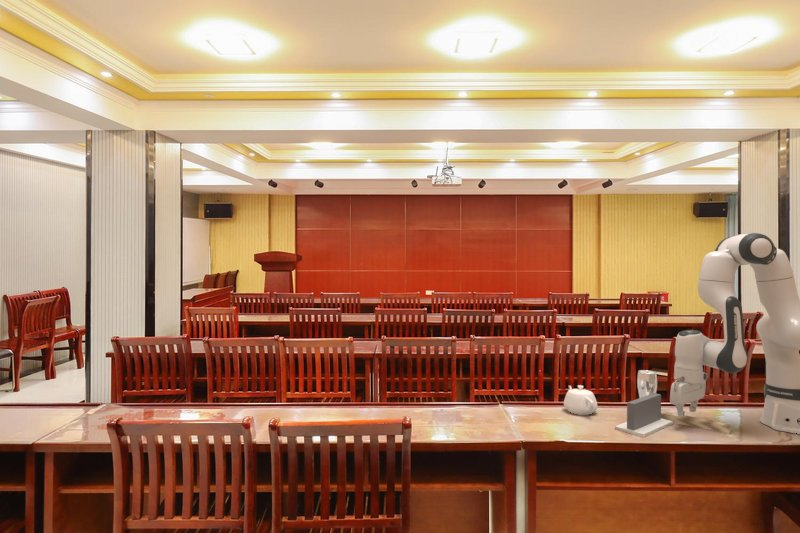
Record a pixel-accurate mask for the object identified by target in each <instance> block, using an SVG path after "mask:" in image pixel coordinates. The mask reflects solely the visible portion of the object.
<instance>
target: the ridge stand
mask: <svg viewBox="0 0 800 533" xmlns="http://www.w3.org/2000/svg"><path fill="white" fill-rule="evenodd" d="M626 403H627V404H626V421H625V422H622V423H619V424H617V425H614V430H616V431H620V432H624V433H627V434H631V435H634V436H638V437H641V438H645V437H648V436H649V435H652V434H654V433H657V432H658V431H661V430H663V429H665V428H668V427H670V426H672V425H674V423H673V421H670V420H666V419H662V418H661V411H662V394H660V393H657V392H656V393H653V394H650V395H647V396H645V397H642V398H636V399H634V400H630V401H628V402H626Z"/></svg>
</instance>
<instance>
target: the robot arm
mask: <svg viewBox="0 0 800 533" xmlns="http://www.w3.org/2000/svg"><path fill="white" fill-rule="evenodd" d="M746 265H749V266H750V267H751V268H752V269H753V272H754V277H755V283H756V288H757V293H758V297H759V301H760V303H761V305H762V306H763V307H764V308H765V311H766V312H767V314H768V315H766V316H763V317H761V318H760V319H758V321H757V323H756V327H755V330H756V332H757V334H758V336H759V338H760V340H761V344H762V349H763V353H764V358H765V377H766V378H765V383H764V386H763V395H764V404H763V405H764V406H763V410H762V414H761V417H760V419H759V421H760V423H762V424H763V425H766V426H768V427H770V428H771V429H773V430H775V431H780V432H786V433H791V434H796V433H797V435H800V353H799V352H800V295H799V292H798V288H797V284H796V280H795V275H794V271H793V267H792V265H791V262H790V260H789V257H788V255H787V254H786V252H785V251H784V250H783V249H781V248H777V247H776V246H775V243H774V241H773V240H772V238H770V237H769V236H767V235H766V234H763V233H757V232H752V233H751V232H750V233H741V234H736V235H733V236H728V237H725V238H724V239H722V240H720V242H719V243H718V244H717V245H716V248H715V250H713V251H710V252H707V253H706V254H705V255H704V257H703V259H702V263H701V266H700V270H699V276H698V284H697V292H698V296H699V298H700V299H701V301H702V302H704V303H705V304H706V305H708V306H709V307H711V308H713V309H714V310H715V311H716V312H718V313H719V314H720V316H721V318H722V321H723V322H722V323H723V341H718V340H716V339H715V340H714V339H712V338H709V337H707V336H705V335H704V334H703V333H702V332H701V331H700V330H697V329H696V330H695V329H685V330H681V331H679V332H678V334H677V335H676V339H675V345H674V356H675V363H674V370H673V371H674V372H673V379H674V380H675V381H673V382H672V383H671V386H670V393H669V394H670V395H669V402H670V404H671V405H673V406H675V407H676V411H677V413H676V414H677V415H678V416H681V417H682V416H684V415H685V411H684V407H685V405H687V404H690V406H689V407H688V408H689V410H688V411H689V412H690V413H696V412H697V408H698V407H697V406H698V404H699V400H701V399H704V397H705V396H706V385H707V384H706V382H707V381H706V380H707V379H708V373H706V372H704V369H703V366H707V367H709V368H713V369H717V370H720V371H723V372H726V373H728V374H736V373H739V372H740V371H742V370H743V369H744V368H746V365H747V363H748V362H749V361H748V358H749V356H748V351H747V348H746V344H745V332H744V331H745V329H744V314H743V306H742V303H741V301H740V300H739V299H738V297H737V295H736V291H735V283H736V282H735V280H736V272H737V270H738V268H739V267H740V266H746ZM685 416H686V415H685Z"/></svg>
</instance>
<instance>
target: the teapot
mask: <svg viewBox="0 0 800 533" xmlns="http://www.w3.org/2000/svg"><path fill="white" fill-rule="evenodd" d="M583 388H584V385H581V384H580V385H579V384H578V385H577V388H572V385H568V390H567V392H566V394H565V397H564V398H563V399H564V400H563V406H564V408H565V409H566V410H567V411H568V413H570V412H571V414H573V413H574V415H576V414H578V415H577V416H590V415H589V414H591V415H593V414H594V413H595V412H596V411H597V410H598V406H599V405H598V402H597V399H596V397H595V394H594V393H593V392H592V391H591V390H588V389H583ZM592 413H593V414H592Z"/></svg>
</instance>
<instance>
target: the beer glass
mask: <svg viewBox="0 0 800 533" xmlns="http://www.w3.org/2000/svg"><path fill="white" fill-rule="evenodd" d="M657 373H658V372H656V371H654V370H650V369H649V370H648V369H646V370H645V369H639V370H638V371H637V380H636V382H637V390H638V397H639V398H642V397H645V396H647V395H650V394H653V393H656V394H657V390H658V378H657V377H658V376H657V375H658V374H657ZM639 398H638V399H639Z"/></svg>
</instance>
